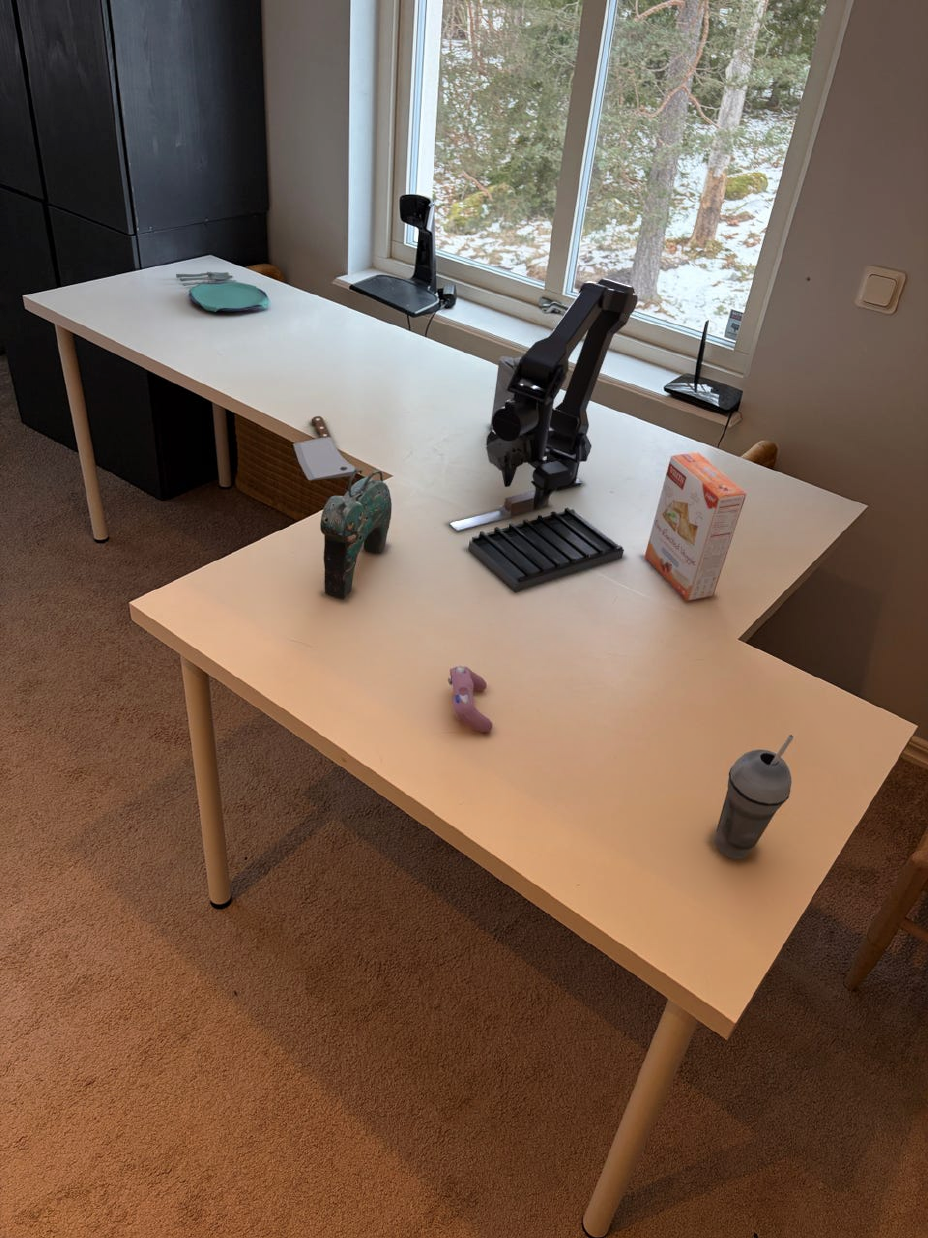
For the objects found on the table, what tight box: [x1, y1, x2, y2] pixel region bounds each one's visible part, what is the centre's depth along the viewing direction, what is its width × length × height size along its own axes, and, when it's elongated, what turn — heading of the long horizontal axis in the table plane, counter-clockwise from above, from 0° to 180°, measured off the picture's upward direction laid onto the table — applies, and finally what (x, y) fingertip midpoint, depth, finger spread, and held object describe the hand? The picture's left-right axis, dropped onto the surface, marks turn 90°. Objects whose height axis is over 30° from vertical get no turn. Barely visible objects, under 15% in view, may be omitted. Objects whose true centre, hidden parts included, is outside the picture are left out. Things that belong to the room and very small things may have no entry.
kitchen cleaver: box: [292, 415, 356, 482], centre depth 189 cm, size 24×1×10 cm
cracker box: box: [644, 451, 747, 602], centre depth 160 cm, size 14×6×21 cm, turn 23°
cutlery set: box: [175, 271, 270, 313], centre depth 250 cm, size 20×30×2 cm, turn 30°
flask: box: [490, 355, 535, 431], centre depth 196 cm, size 4×14×18 cm, turn 34°
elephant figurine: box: [319, 468, 393, 600], centre depth 152 cm, size 20×6×20 cm, turn 160°
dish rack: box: [467, 507, 625, 593], centre depth 167 cm, size 24×14×3 cm, turn 124°
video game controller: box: [447, 666, 494, 733], centre depth 132 cm, size 10×5×7 cm, turn 5°
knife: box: [449, 490, 550, 533], centre depth 176 cm, size 21×3×3 cm, turn 124°
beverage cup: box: [714, 734, 794, 860], centre depth 113 cm, size 7×7×20 cm
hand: (521, 497), depth 177 cm, fingers open, 9 cm apart
